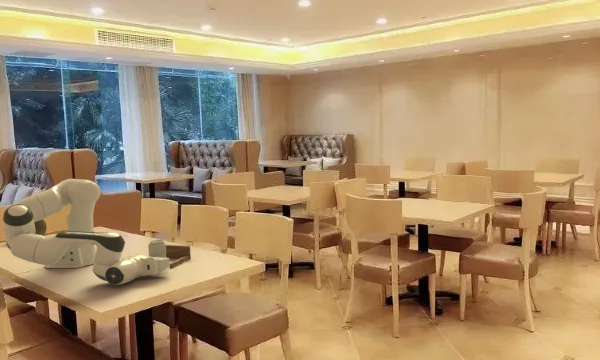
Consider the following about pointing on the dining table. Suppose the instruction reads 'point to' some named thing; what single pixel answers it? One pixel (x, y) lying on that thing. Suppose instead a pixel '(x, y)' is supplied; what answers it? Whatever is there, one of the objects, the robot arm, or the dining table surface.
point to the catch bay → (178, 254)
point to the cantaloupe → (40, 227)
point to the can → (157, 248)
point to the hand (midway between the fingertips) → (155, 257)
